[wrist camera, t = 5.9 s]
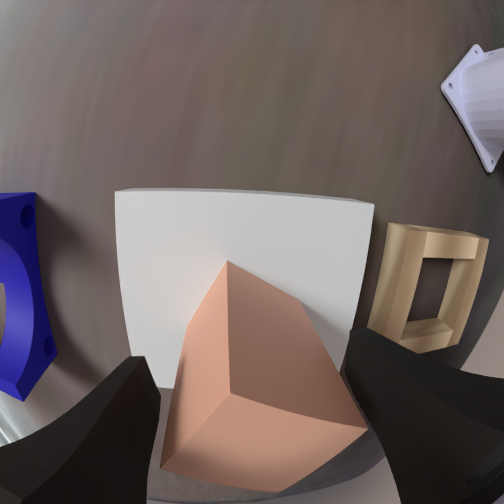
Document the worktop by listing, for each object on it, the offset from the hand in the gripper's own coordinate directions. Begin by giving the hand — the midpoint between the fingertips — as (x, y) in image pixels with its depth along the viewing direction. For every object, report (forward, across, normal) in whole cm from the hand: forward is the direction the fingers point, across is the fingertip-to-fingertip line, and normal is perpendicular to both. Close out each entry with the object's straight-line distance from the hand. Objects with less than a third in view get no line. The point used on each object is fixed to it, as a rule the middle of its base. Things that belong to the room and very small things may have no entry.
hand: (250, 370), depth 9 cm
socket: (+7, -13, +2) cm, 15 cm away
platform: (+7, 0, 0) cm, 7 cm away
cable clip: (+7, +16, -2) cm, 17 cm away
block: (+4, 0, 0) cm, 4 cm away
